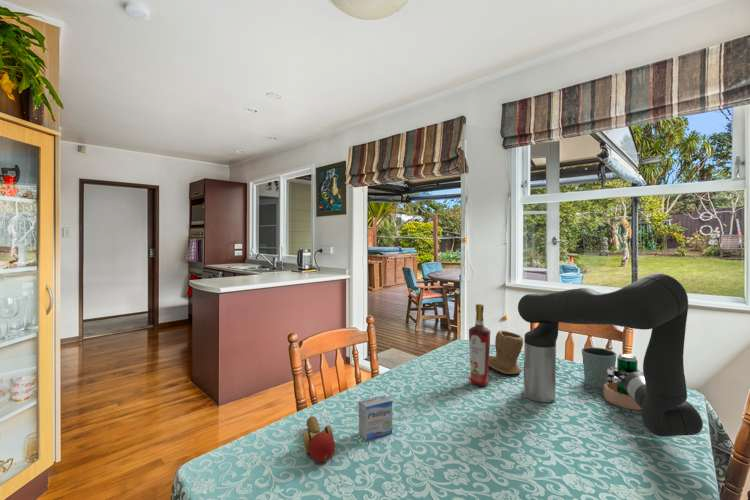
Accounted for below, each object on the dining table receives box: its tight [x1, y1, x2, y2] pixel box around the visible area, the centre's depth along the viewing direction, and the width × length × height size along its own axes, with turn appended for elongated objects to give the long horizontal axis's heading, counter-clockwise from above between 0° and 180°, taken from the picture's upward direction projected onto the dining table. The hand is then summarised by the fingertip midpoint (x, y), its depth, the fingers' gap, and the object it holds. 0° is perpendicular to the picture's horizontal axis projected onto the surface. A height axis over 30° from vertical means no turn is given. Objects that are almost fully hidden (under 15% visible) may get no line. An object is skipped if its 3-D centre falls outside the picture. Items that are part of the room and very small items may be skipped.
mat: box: [597, 390, 624, 409], centre depth 108 cm, size 13×11×1 cm
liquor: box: [468, 303, 491, 387], centre depth 123 cm, size 7×7×28 cm
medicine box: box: [358, 395, 393, 442], centre depth 91 cm, size 8×4×9 cm, turn 118°
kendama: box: [302, 416, 336, 463], centre depth 86 cm, size 8×6×18 cm
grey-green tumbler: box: [581, 346, 618, 390], centre depth 121 cm, size 10×10×12 cm
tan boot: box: [489, 330, 524, 375], centre depth 137 cm, size 15×12×15 cm
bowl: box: [603, 381, 641, 411], centre depth 108 cm, size 12×12×4 cm
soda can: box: [616, 353, 639, 395], centre depth 108 cm, size 5×5×12 cm
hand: (624, 370), depth 110 cm, fingers closed on soda can, 5 cm apart
